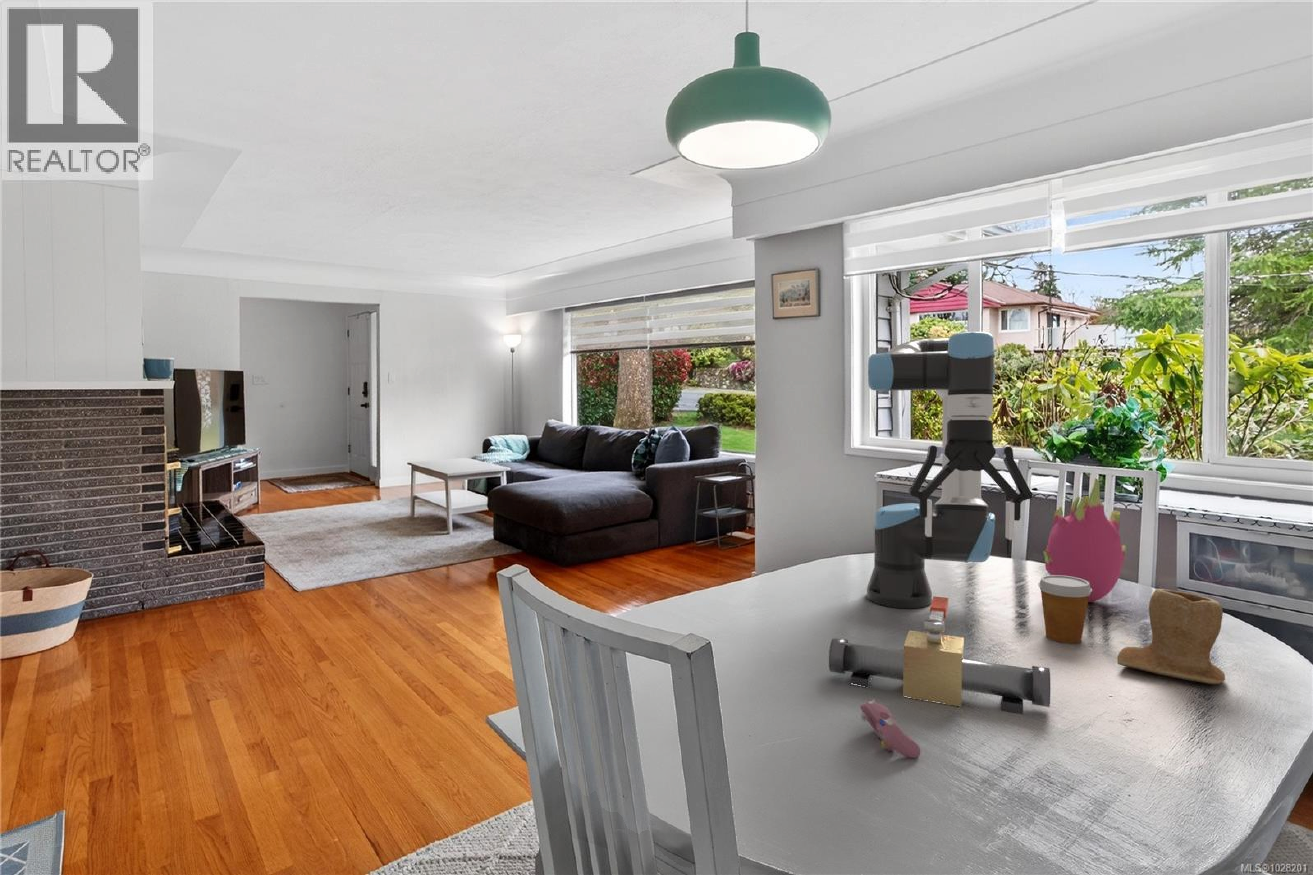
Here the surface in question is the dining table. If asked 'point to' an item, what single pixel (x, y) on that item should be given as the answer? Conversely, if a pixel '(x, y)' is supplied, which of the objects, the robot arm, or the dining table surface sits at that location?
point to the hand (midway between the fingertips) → (968, 537)
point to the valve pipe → (940, 671)
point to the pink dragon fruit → (1086, 545)
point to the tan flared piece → (1179, 638)
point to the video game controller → (888, 729)
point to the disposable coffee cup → (1064, 606)
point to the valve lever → (937, 615)
